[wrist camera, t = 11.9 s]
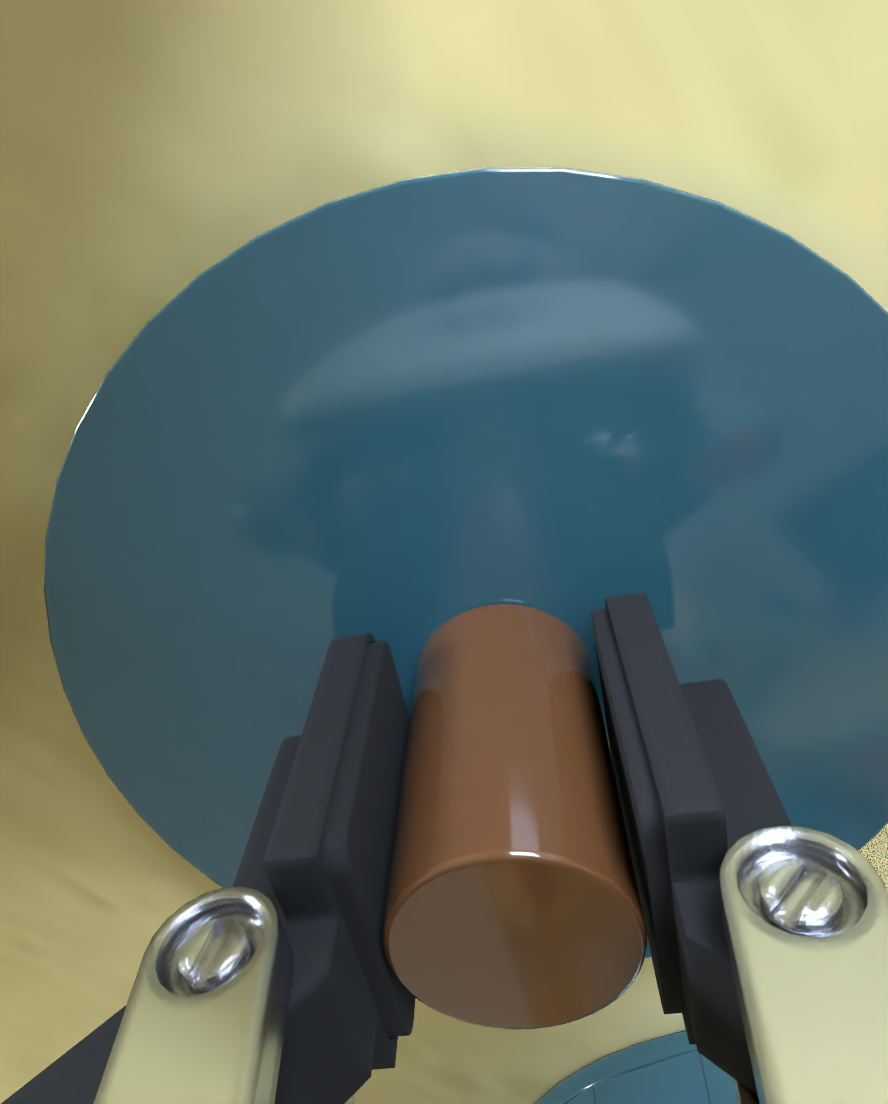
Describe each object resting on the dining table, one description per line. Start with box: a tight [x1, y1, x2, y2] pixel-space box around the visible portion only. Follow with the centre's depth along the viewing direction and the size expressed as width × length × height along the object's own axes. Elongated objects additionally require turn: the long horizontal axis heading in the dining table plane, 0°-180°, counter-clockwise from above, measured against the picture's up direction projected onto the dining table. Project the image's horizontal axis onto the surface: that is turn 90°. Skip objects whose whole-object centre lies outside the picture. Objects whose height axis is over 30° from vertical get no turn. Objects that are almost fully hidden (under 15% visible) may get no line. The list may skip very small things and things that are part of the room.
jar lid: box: [44, 167, 888, 1030], centre depth 10 cm, size 14×14×6 cm
